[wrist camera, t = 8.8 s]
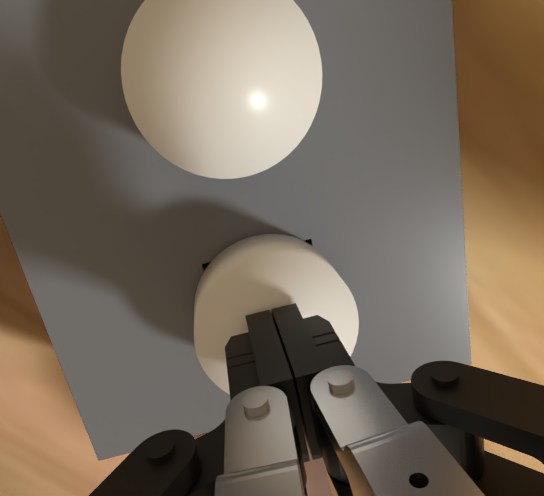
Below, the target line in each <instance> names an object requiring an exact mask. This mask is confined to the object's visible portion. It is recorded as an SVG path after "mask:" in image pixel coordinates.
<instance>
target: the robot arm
mask: <svg viewBox="0 0 544 496" xmlns="http://www.w3.org/2000/svg"><path fill="white" fill-rule="evenodd" d="M271 311H272V316H271V313H270V310H265V311H261V312H257V313H253V314H249V315H245V317H246V322H247V326H248V331H249V332H247V333H243V334H239V335H235V336H231V337H230V339H229V341H228V343H227V344H226V346H225V355H226V364H227V373H228V382H229V391H230V400H231V401H230V402H229V403H228V405H227V407H226V412H225V420H224V421H223V422H222V423H221V424H220V425H219V426H218V427H216V428H215V429H214V430H212V431H210V432H209V433H207V434H205V435H203V436H201V437H199V438H197V439H194V437H193V436H192V435H191V434H190V433H189V432H187V431H184V430H179V429H173V430H166V431H162V432H159V433H157V434H155V435H152V436H151V437H149V438H147V439H146V440H144V441H143V442H142V443H141V444H140V445H138V446H137V447H136V448H135V449H134V450H133V451H132V452H131V453H130V454H129V455H128V456H127V457H126V458H125V460H124V461H123V462H122V463H121V464H120V465H119V466H118V467H117V468H116V469H115V470H114V471H113V472H112V473H111V474H110V475H109V476H108V477H107V478H106V479H105V480H104V481H103V482H102V483H101V484H100V485H99V486H98V487H97V488H96V489H95V490H94V491H93V492H92V493H91V494H90V495H89V496H308V493H307V488H306V482H307V475H306V470H305V465H304V463H305V462H308V461H310V458H309V453H308V449H307V444H308V447H309V450H310V453H311V456H312V459H313V460H315V459H319V458H323V460H324V463H325V466H326V471H327V476H328V481H329V485H330V488H331V490H332V493H333V495H334V496H544V474H543V473H541V472H538V471H536V470H533V469H531V468H528V467H525V466H523V465H520V464H518V463H515V462H512V461H510V460H507V459H505V458H502V457H500V456H497V455H494V454H492V453H489V452H487V451H484V439H487V440H490V441H492V442H495V443H498V444H500V445H503V446H506V447H508V448H511V449H514V450H517V451H519V452H522V453H525V454H527V455H530V456H532V457H534V458H536V459H538V460H539V461H541V462H542V463H543V464H544V386H543V385H539V384H536V383H532V382H528V381H525V380H521V379H517V378H514V377H510V376H506V375H502V374H499V373H495V372H491V371H488V370H484V369H480V368H477V367H473V366H469V365H466V364H462V363H458V362H454V361H433V362H429V363H426V364H423V365H421V366H420V367H418V368H417V369H416V370H415V371H414V372H413V374H412V376H411V383H399V384H387V383H380V382H376V381H374V379H373V378H372V377H371V376H370V374H369V373H368V372H366V371H365V370H363V369H361V368H359V367H356V366H355V364H354V363H353V361H352V359H351V358H350V356H349V354H348V352H347V351H346V349H345V347H344V346H343V344H342V342H341V341H340V339H339V337H338V335H337V334H336V333H335V330H334V329H333V327H332V325H331V323H330V322H329V321H328V320H326V319H324V318H322V317H320V316H318V315H315V316H311V317H307V318H303V317H302V315H301V313H300V311H299V309H298V307H297V305H296V303H294V304H290V305H286V306H281V307H277V308H273V309H271ZM272 317H273V319H272ZM273 321H274V322H273ZM305 437H306V439H305ZM306 440H307V444H306Z"/></svg>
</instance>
